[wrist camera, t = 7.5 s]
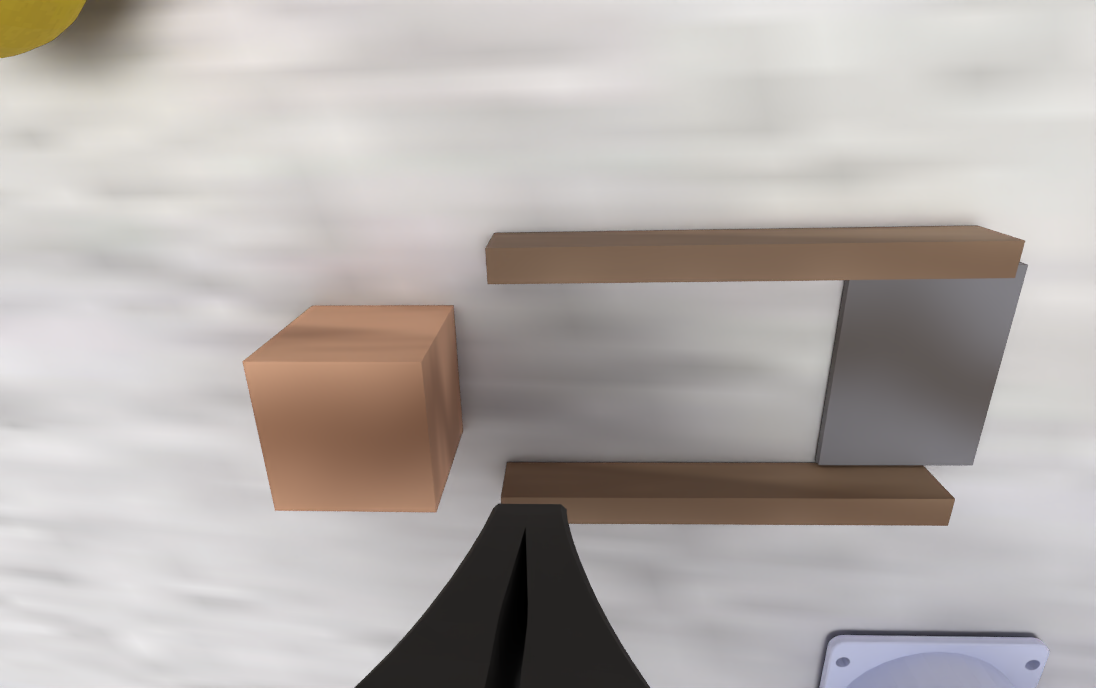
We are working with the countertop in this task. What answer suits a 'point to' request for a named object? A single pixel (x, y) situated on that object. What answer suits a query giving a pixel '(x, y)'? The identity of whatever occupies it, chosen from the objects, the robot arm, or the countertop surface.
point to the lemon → (34, 23)
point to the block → (359, 408)
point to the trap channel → (854, 381)
